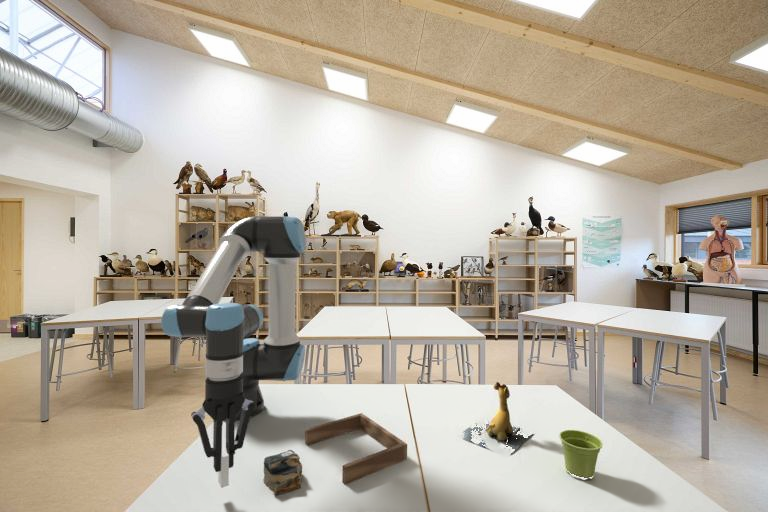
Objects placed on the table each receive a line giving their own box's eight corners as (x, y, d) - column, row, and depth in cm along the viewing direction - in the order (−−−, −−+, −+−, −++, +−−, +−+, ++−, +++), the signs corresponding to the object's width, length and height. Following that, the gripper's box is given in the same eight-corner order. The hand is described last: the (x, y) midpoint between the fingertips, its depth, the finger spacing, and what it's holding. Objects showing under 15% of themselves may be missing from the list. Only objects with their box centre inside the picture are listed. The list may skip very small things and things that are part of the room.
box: (305, 443, 105) (305, 429, 105) (361, 425, 116) (361, 413, 116) (344, 484, 87) (345, 467, 87) (407, 459, 98) (407, 444, 98)
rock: (275, 499, 82) (275, 473, 82) (259, 478, 89) (260, 454, 89) (311, 484, 87) (311, 460, 87) (293, 465, 94) (294, 443, 94)
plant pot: (600, 490, 86) (601, 453, 86) (556, 476, 91) (557, 441, 91) (602, 470, 94) (603, 436, 94) (561, 458, 99) (561, 426, 99)
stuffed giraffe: (534, 434, 113) (533, 381, 112) (508, 460, 99) (507, 400, 99) (485, 419, 123) (483, 370, 123) (456, 441, 110) (454, 387, 110)
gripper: (194, 386, 74) (193, 504, 75) (260, 374, 82) (259, 481, 82) (188, 376, 80) (187, 485, 81) (250, 366, 88) (248, 465, 88)
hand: (223, 483), depth 82 cm, fingers closed
